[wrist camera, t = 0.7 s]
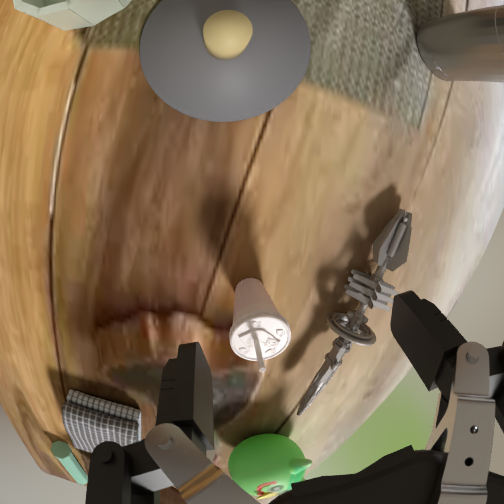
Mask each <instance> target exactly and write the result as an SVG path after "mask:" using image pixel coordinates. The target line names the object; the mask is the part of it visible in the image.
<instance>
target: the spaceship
mask: <svg viewBox="0 0 504 504" xmlns="http://www.w3.org/2000/svg"><path fill="white" fill-rule="evenodd" d="M411 220H412V213H408V212H406V214H405V210H402V209H400V210H399V211H398V212H397V213H396V215H395V216H394V217H393V218H392V219H391V220H390V221H389V222H388V224H387V225H386V226H385V228H384V229H383V230H382V232H381V233H380V234H379V236H378V237H377V238H376V240H375V241H374V242H373V259H374V261H375V262H377V265H378V267H377V269H376V271H375V273H373V274H372V275H371V274H370V275H369V274H366V273H363V272H360V271H357V270H354V269H352V271H351V273H352V274H354V276H353V278H352V277H349V278H348V281H350V284H349V285H346V284H345V286H344V288H345V289H348V290H346V292H345V293H346V294H348V295H350V296H352V297H354V298H355V299H357V300H359V301H361V302H360V305H359V307H358V308H357V310H355V311H348V312H347V314H345V313H338V312H331V313H329V314H328V315H327V316H326V322H327V324H328V326H329V327H330V328H331V329H332V330H333V331H334V332H335V333H337V334H338V335H340V336H339V337H338V338H336V339H335V340H334V341H333V348H332V350H331V351H330V352H329V353H327V354H326V355H325V362H324V364H323V365H322V367H321V368H320V369H319V371H318V373H317V374H316V376H315V377H314V379H313V381H312V382H311V384H310V386H309V388H308V390H307V392H306V394H305V395H304V397H303V399H302V401H301V402H300V403H301V404H300V403H299V404H300V406H299V408H298V411H297V415H301V414H302V413H303V412H304V411H305V410H306V409H307V408H308V407H309V406H310V405H311V403H312V402H313V400H314V399H315V397H316V396H317V395H318V394H319V393H320V391H322V390H323V388H324V387H325V386H326V385H327V383H328V382H329V380H330V379H331V378H332V375H333V374H334V373H335V371H336V370H337V367H338V366H340V365H341V364H342V358H343V356H344V355H345V353H348V352H349V351H350V349H351V346H352V344H351V342H353V343H356V344H359V345H365V346H369V345H372V344H374V343H375V342H376V335H375V334H374V332H373V331H372V330H371V329H370V327H369V326H367V325H366V324H365V323H367V322H368V318H367V317H365V316H364V313H365V310H366V308H367V307H368V306H369V308H371V309H372V308H373V307H376V308H380V309H383V310H387V311H390V309H391V307H389V306H386V304H387V302H389V303H392V304H393V300H394V299H391V298H390V296H391V295H394V296H395V295H398V293H399V292H397V291H394V288H395V287H393V286H391V285H390V284H388V283H386V282H384V281H383V279H382V277H383V275H384V272H385V271H386V269H389V270H390V271H394V270H396V269H397V268H398V267H400V266H401V265H402V264H404V263H405V262H406V261H407V256H408V249H409V243H410V236H411V229H412V228H411ZM359 294H360V295H359ZM376 301H377V302H376ZM331 319H332V320H331ZM345 327H346V328H345ZM356 332H358V333H360V334H358V333H356ZM361 335H362V336H361ZM369 339H370V340H369Z"/></svg>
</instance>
